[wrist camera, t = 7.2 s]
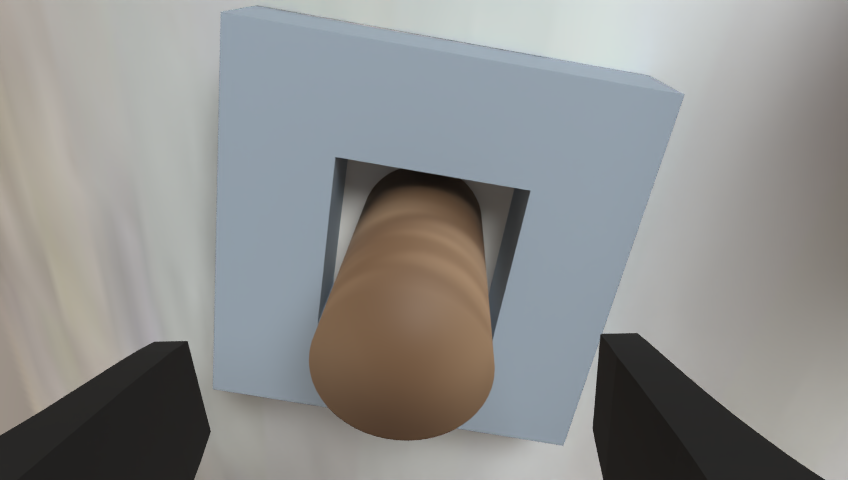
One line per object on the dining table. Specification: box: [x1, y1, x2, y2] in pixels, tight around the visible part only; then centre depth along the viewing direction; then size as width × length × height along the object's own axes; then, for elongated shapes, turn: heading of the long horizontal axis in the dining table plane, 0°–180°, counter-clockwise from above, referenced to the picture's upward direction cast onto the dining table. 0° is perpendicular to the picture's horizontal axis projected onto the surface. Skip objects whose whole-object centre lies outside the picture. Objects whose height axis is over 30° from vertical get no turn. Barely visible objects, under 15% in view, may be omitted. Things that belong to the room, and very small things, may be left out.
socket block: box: [213, 6, 684, 446], centre depth 19 cm, size 12×12×3 cm
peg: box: [309, 168, 495, 441], centre depth 16 cm, size 4×4×8 cm
